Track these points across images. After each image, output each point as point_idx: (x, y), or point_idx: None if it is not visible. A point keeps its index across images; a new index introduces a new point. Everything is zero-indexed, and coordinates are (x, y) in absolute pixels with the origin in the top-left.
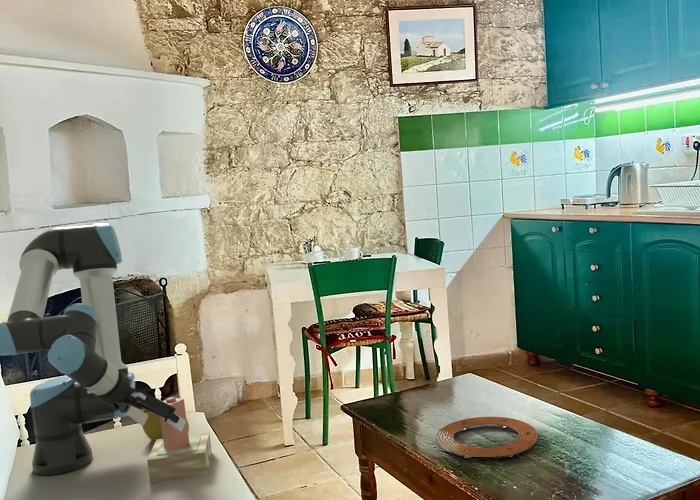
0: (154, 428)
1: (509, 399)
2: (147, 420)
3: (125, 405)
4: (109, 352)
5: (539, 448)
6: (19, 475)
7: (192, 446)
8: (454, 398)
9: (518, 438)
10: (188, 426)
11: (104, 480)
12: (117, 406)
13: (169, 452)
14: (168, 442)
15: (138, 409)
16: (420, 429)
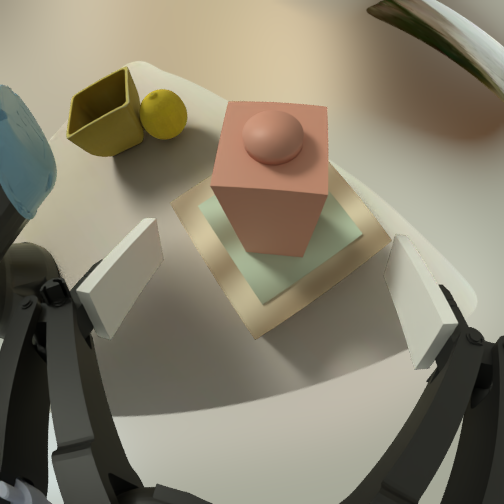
0: (111, 141)
1: (483, 34)
2: (90, 138)
3: (93, 376)
4: None
5: None
6: None
7: (330, 217)
8: (449, 20)
9: None
10: (184, 105)
11: (141, 350)
12: (44, 340)
13: (290, 275)
14: (269, 248)
15: (121, 261)
16: (492, 77)
